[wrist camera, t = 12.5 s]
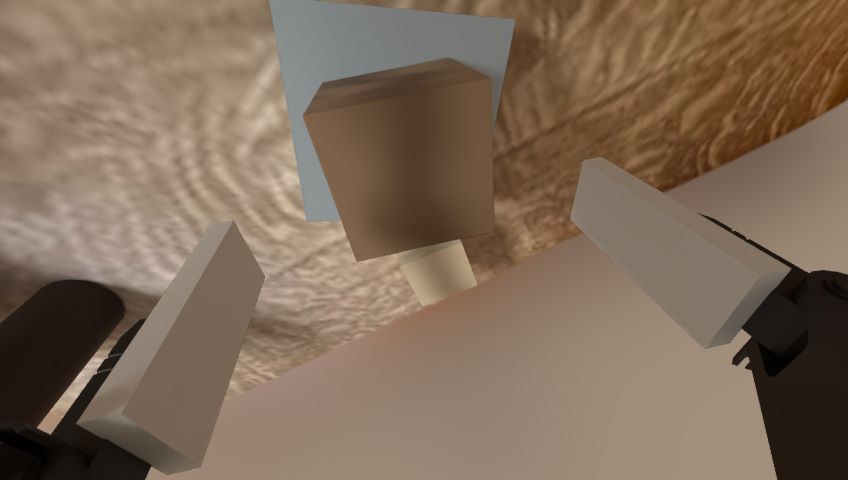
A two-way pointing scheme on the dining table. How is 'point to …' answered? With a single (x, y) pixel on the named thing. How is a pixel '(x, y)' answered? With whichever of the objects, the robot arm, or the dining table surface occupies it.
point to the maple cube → (437, 270)
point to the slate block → (370, 61)
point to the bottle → (51, 345)
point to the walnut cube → (407, 155)
